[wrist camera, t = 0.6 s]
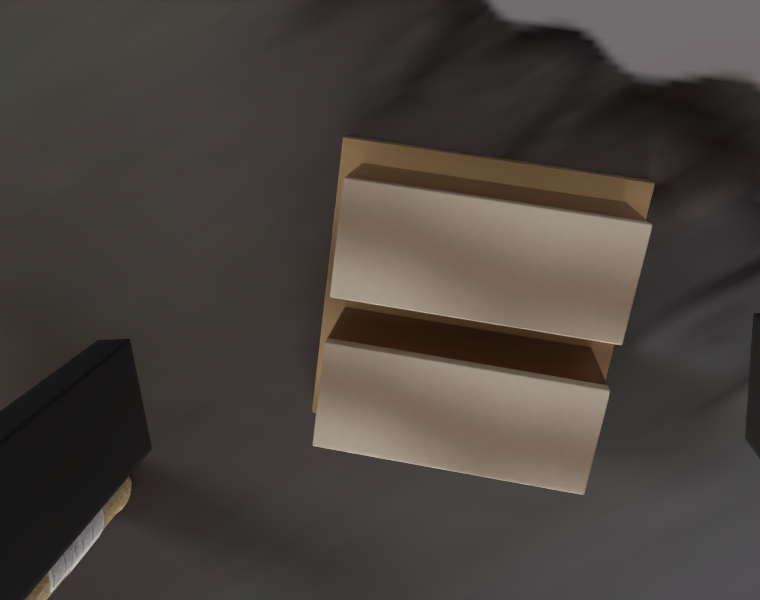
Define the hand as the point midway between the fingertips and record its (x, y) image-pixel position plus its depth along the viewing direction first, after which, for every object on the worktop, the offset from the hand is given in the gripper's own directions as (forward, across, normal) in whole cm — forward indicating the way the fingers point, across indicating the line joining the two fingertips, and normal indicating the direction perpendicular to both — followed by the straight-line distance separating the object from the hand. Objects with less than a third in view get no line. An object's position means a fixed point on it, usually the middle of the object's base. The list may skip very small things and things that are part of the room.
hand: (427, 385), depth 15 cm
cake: (+20, +1, -4) cm, 21 cm away
